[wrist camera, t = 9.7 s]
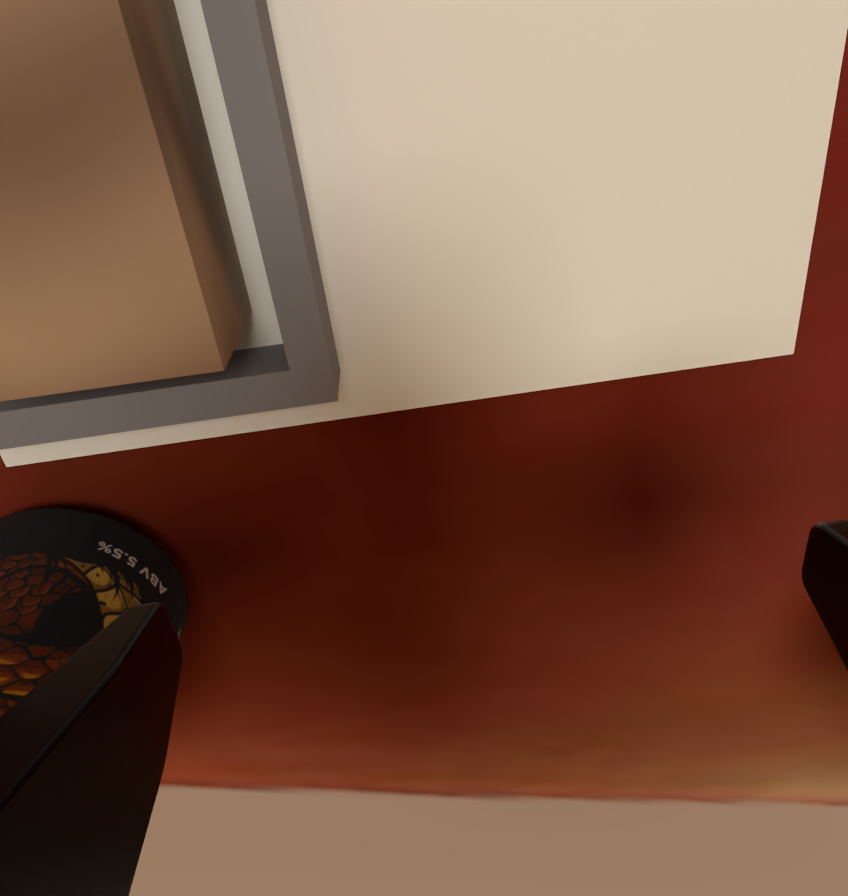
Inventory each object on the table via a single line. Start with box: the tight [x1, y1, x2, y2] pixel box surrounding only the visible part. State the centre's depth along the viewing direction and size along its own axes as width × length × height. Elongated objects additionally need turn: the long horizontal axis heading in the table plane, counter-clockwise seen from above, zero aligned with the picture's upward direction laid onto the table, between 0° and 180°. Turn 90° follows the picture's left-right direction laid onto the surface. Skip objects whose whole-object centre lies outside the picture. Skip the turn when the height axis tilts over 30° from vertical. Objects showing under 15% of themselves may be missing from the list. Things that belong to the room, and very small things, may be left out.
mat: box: [0, 0, 848, 467], centre depth 14 cm, size 23×17×3 cm
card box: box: [0, 0, 252, 401], centre depth 13 cm, size 10×6×4 cm, turn 6°
